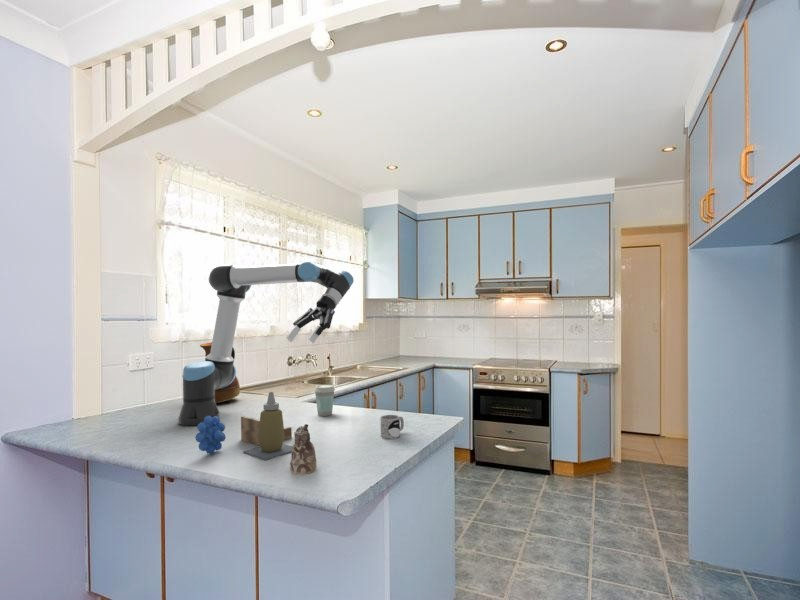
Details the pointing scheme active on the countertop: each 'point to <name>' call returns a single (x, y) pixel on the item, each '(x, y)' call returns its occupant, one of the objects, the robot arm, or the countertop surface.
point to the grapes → (210, 434)
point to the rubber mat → (268, 455)
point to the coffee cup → (324, 399)
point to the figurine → (302, 452)
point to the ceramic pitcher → (229, 390)
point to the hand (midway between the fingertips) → (299, 340)
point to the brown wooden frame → (256, 430)
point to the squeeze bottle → (271, 426)
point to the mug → (391, 426)
